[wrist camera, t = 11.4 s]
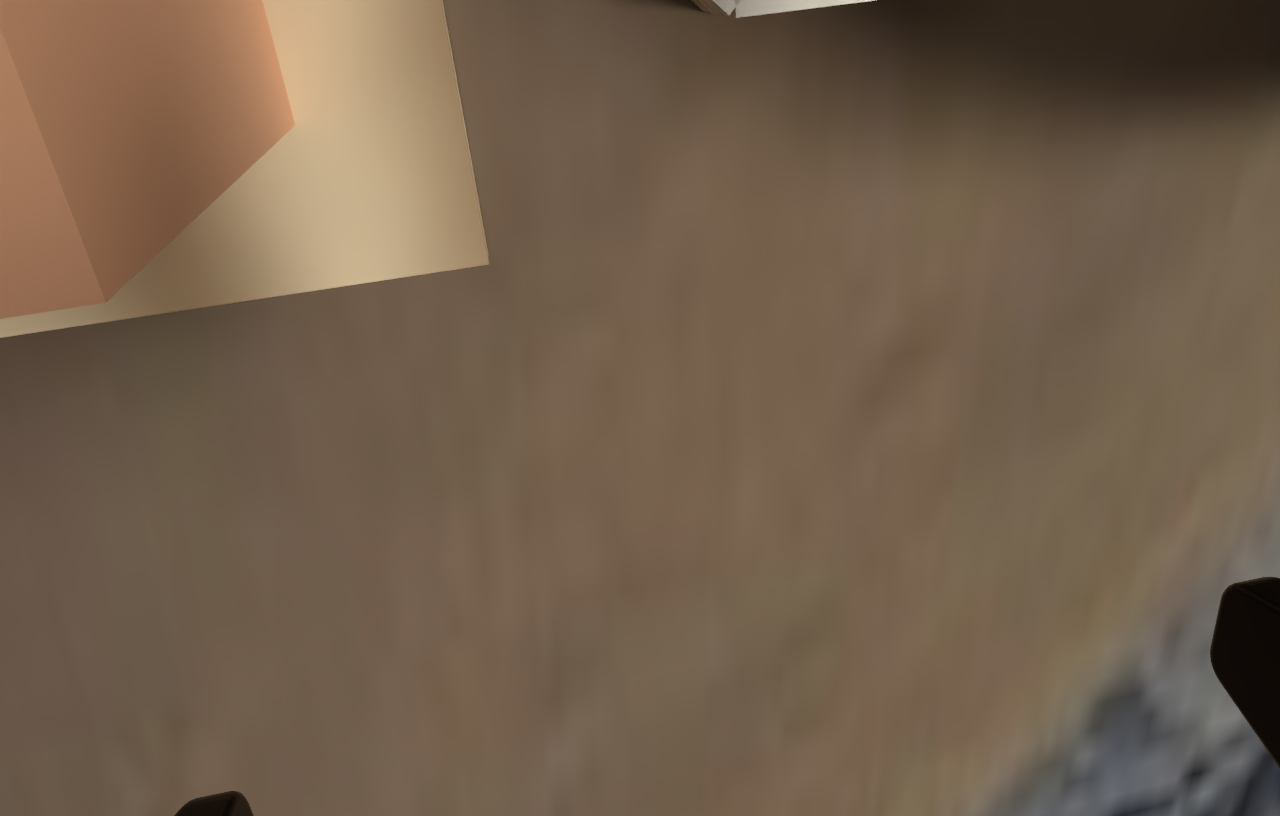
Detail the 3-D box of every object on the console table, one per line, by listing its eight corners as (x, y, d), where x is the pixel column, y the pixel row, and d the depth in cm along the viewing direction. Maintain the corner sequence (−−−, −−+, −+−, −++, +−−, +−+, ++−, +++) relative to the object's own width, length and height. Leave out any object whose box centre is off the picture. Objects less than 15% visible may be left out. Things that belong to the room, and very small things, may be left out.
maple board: (378, -354, 15) (373, -375, 14) (487, 250, 19) (488, 264, 18) (-305, -303, 14) (-359, -322, 13) (-24, 327, 18) (-50, 344, 17)
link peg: (227, -131, 15) (-119, -280, 6) (295, 124, 17) (105, 302, 8) (-36, -102, 15) (-827, -218, 6) (62, 157, 16) (-420, 385, 7)
